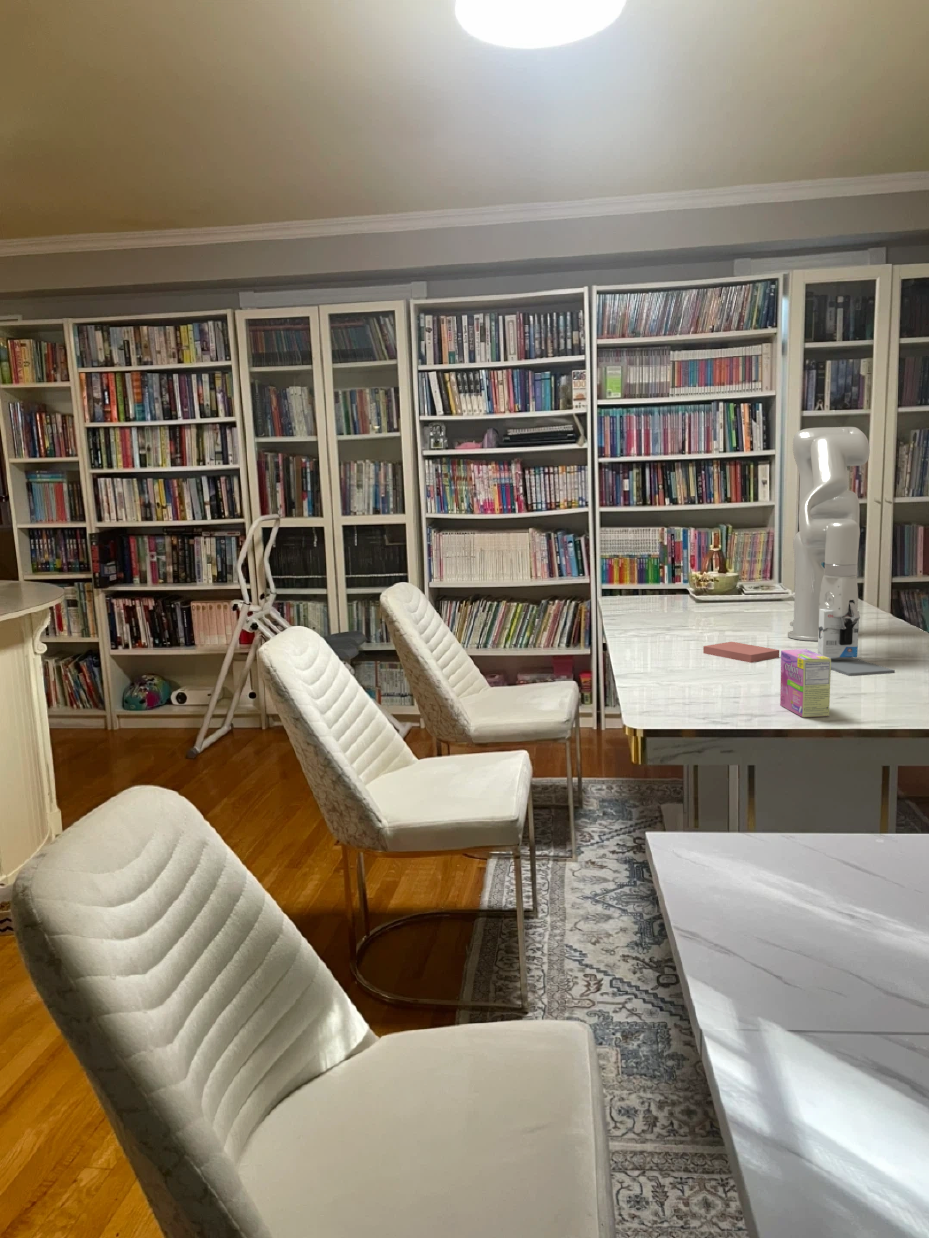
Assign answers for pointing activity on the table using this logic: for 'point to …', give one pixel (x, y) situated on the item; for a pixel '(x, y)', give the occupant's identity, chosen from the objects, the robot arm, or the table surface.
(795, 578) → the robot arm
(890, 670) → the slate mat
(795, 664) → the box
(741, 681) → the table surface
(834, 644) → the ink box
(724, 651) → the hardcover book
